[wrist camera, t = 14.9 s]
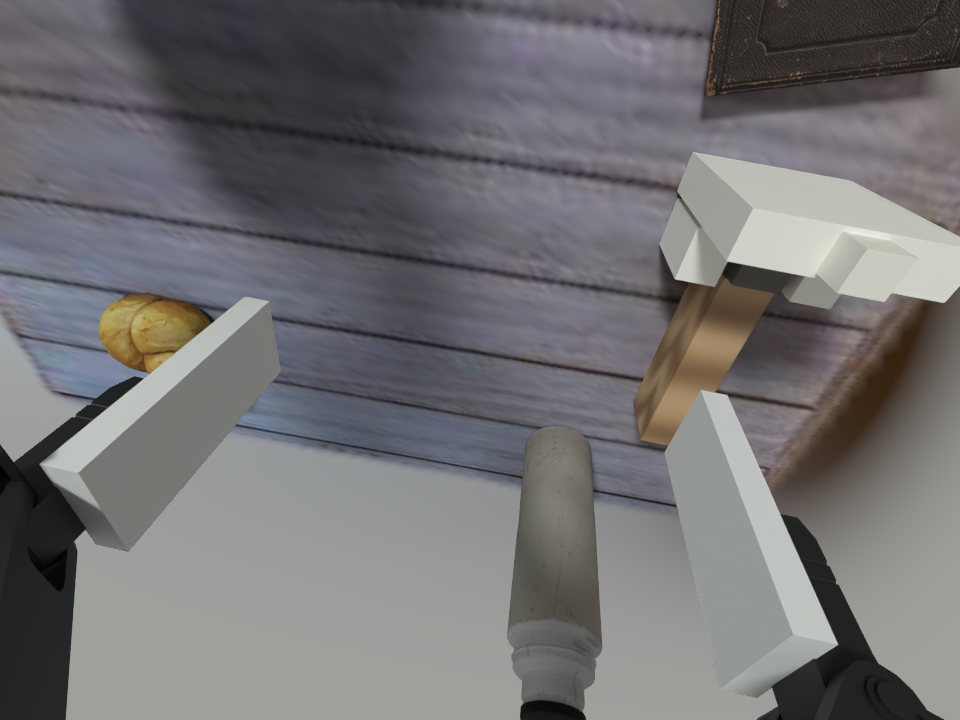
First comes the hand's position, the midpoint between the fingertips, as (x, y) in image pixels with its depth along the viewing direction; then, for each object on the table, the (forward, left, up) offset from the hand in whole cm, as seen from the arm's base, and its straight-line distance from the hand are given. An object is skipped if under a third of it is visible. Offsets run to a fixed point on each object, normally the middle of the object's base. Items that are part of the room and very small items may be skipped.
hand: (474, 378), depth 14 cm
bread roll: (-38, -24, -29) cm, 54 cm away
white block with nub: (+18, -1, -29) cm, 34 cm away
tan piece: (+18, -13, -29) cm, 36 cm away
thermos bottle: (+10, -32, -29) cm, 44 cm away
